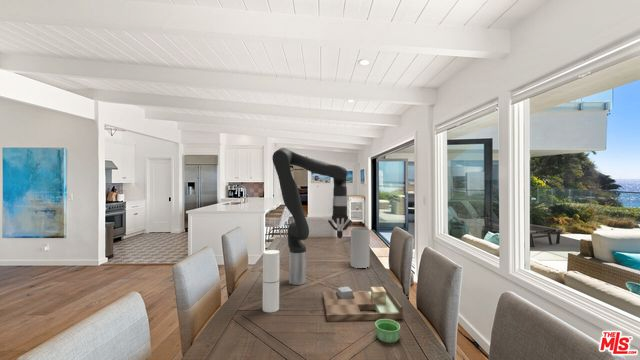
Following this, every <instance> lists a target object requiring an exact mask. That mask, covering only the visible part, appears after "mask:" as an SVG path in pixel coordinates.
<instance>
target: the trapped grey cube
mask: <svg viewBox="0 0 640 360" xmlns="http://www.w3.org/2000/svg"><path fill="white" fill-rule="evenodd" d="M336 291H337V299H353V291H354V290H352V289H351V288H350V287H349V286H341V287H337V290H336Z"/></svg>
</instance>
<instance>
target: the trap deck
mask: <svg viewBox="0 0 640 360" xmlns="http://www.w3.org/2000/svg"><path fill="white" fill-rule="evenodd" d="M383 288H384V289H385V291H386V304H373V302H372V300H371V290H353V299H337V290H336V291H335V290H334V291H332V290H331V291H327V290H326V291H325V290H324V291H322V298H323V304H324V305H323V306H324V308H325V309H324V310H325V316H326V321H327V322H343V321H344V322H345V321H346V322H347V321H349V322H350V321H351V322H352V321H377V320H379V319H390V320H394V321H396V320H397V319H403V314H404V313H403V309H404V308H403V306H402V305H401V303H400V302H399V301H398V300H397V298H396V297H395V296H394V294H393V293H392V292H391V291H390V289H389V288H388V287H387V285H383ZM361 311H375V312H361ZM403 320H404V319H403Z"/></svg>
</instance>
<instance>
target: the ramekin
mask: <svg viewBox="0 0 640 360" xmlns="http://www.w3.org/2000/svg"><path fill="white" fill-rule="evenodd" d="M374 327H375V335H376V337H377V339H378V340H380V341H381V342H383V343H395V342H397V341H398V340H399V338H400V330H401V325H400V323H398V322H397V321H396V320H390V319H379V320H375V322H374Z"/></svg>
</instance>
